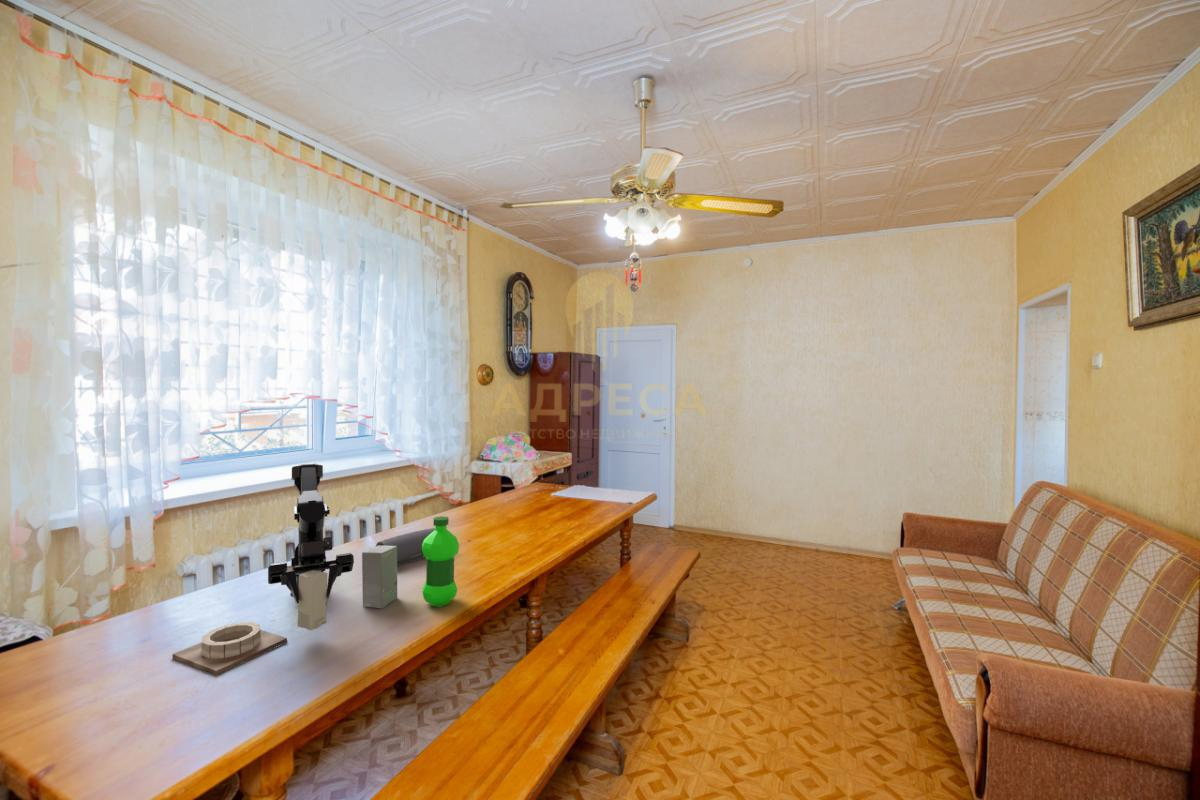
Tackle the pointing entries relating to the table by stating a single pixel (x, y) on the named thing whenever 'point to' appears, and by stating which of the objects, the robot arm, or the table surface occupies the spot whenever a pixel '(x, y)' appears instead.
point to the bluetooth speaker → (408, 545)
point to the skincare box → (379, 576)
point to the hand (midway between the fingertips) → (313, 600)
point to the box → (312, 599)
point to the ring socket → (229, 647)
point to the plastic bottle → (440, 563)
